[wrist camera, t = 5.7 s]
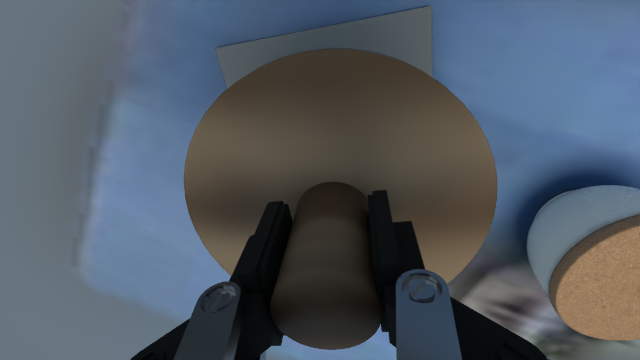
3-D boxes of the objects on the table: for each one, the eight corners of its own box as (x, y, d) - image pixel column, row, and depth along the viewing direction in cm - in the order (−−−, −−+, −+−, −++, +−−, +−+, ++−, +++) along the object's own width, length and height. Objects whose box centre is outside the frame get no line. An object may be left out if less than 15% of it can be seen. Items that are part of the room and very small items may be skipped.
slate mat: (217, 47, 23) (214, 48, 22) (429, 5, 20) (431, 5, 20) (268, 218, 29) (267, 220, 29) (433, 200, 27) (434, 202, 27)
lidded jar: (488, 197, 27) (553, 278, 18) (633, 139, 23) (791, 206, 15) (522, 280, 30) (589, 378, 22) (650, 240, 27) (783, 337, 19)
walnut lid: (141, 82, 12) (-10, 136, 7) (501, 11, 10) (659, 13, 5) (242, 309, 18) (200, 427, 13) (481, 296, 16) (542, 431, 11)
